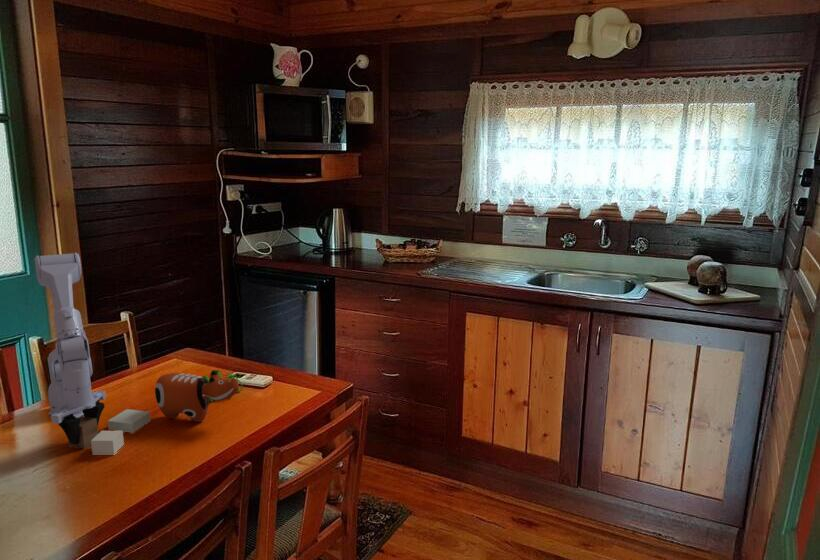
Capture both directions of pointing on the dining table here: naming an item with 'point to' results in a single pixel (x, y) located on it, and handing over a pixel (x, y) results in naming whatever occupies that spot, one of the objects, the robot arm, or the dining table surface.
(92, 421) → the walnut block
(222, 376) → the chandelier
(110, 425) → the sage slab
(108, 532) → the dining table surface
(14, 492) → the dining table surface
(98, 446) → the cream block
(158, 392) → the toy
